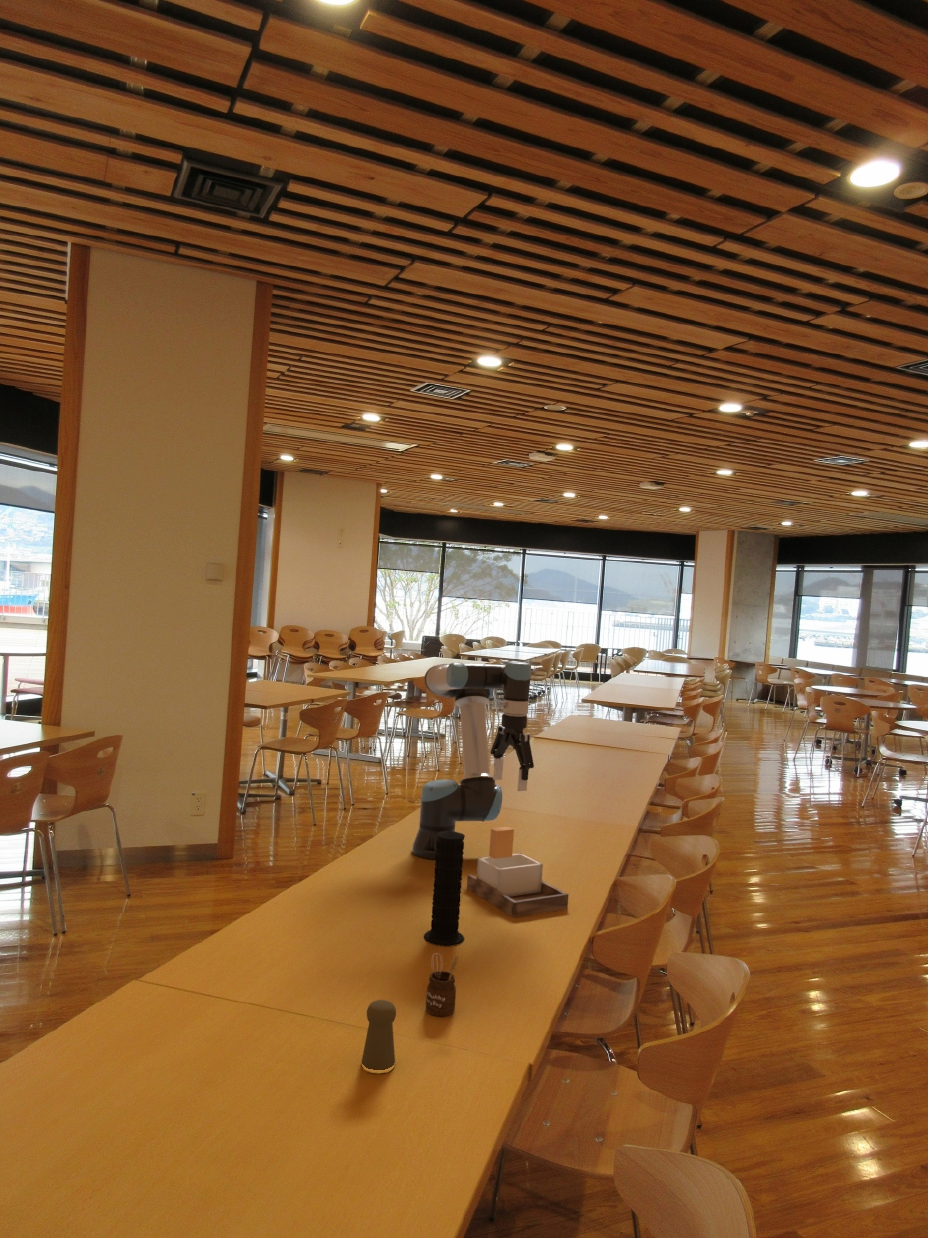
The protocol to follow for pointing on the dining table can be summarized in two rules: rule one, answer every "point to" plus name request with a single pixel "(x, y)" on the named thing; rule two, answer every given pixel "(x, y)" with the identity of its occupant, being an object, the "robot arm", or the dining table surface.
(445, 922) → the handle grip
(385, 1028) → the grey pepper shaker
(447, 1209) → the dining table surface
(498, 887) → the box
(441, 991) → the utensil holder
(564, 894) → the bay
